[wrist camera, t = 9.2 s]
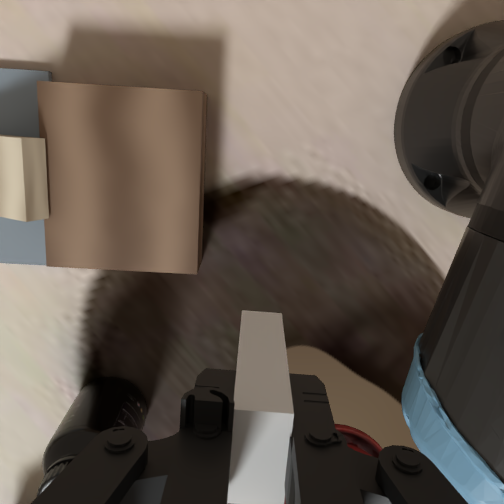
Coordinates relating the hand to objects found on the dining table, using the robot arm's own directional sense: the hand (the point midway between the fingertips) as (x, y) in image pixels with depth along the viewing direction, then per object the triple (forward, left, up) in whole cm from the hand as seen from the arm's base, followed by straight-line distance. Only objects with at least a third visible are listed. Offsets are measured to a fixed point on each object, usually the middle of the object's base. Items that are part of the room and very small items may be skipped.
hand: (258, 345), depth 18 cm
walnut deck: (+10, -3, -24) cm, 26 cm away
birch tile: (+19, -3, -21) cm, 29 cm away
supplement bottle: (+12, +19, -24) cm, 33 cm away
